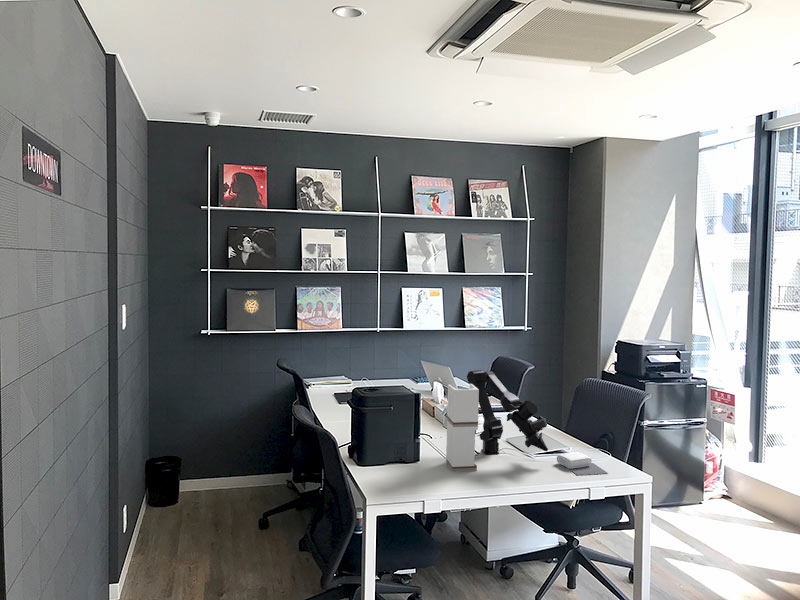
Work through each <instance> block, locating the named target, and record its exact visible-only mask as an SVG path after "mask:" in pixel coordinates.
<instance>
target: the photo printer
mask: <svg viewBox="0 0 800 600" xmlns="http://www.w3.org/2000/svg"><path fill="white" fill-rule="evenodd" d="M556 462H557V463H558V464H559V465H562V466H563V467H565V468H566V469H568V468H571V469H573V468H579V467H585V466H589V465H590V464H591V463H593V462H592V458H591V457H590V456H588V455H587V454H584V453H581V452H578V451H577V452H576V451H570V452H565V453H559V454H558V455H557V456H556Z"/></svg>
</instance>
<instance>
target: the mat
mask: <svg viewBox="0 0 800 600" xmlns="http://www.w3.org/2000/svg"><path fill="white" fill-rule="evenodd" d="M567 469H568V470H569V471H570V472H572V473H573V474H575V475H576V476H593V475H607V474H608V475H609V472H608V471H606V470H604V469H603V468H601V467H599V466H598V465H597V464H595V463H594V462H592V463H591V464H590V465H589V466H585V467H579V468H573V469H571V468H567Z"/></svg>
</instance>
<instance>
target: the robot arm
mask: <svg viewBox="0 0 800 600" xmlns="http://www.w3.org/2000/svg"><path fill="white" fill-rule="evenodd" d="M466 379H467V382H468V385H470V384H473V385H474V386H475V387H476V388H478V389H479V405H478V406H479V407H480V411H481V413H482V417H483V425H482V428H483V431H481V433H479V439H480V440H481V441H482V449H481V452H483V454H485V455H498V454H500V453H499V450H500V449H499V445H500V443H499V440H500V439H501V438H502V435H503V433H504V426H503V424H502V420H501V419H500V418H497V417H496V416H495V414H494V410H493V408H492V405H491V402H490V398H489V395H488V392H487V389H486V384H487V385H488V386H489V387H490V388H491V389H492V391H493V392H494V393H495V394H496V395H497V397H498V398H499V400H500V401H499V402H500V405H501V407H502V408H503V410H504V411H505V412H509V413H507V415H506V422H509V421H512V423H513V424H514V425H515V426H516V428H517V429H519V430H518V431H519V432H520V433H522V434H523V435H524V436H525V441H524V445H525V446H526V447H527V448H530V447H531V446H533V447H534V448H538V449H540V450H543V451H545V452H548V451H549V449H548V447H547V445H546V443H545V440H544V438H543V432H540V431H543V429H544V428H547V426H548V423H547V421H546V418H545V417H543V416H542V415H539V416H537V417H536V420H534V421H533V420H532V419H530V418H532V417H534V415H536V414H538V411H539V410H538V407H537V405H535V404H534V403H533V402H531V400H530V399H527V400H524V401H522V400H521V399H520V398H519V397H518V396H516V395H515V394H514V393H512V392H510V391H509V390H508V389H507V388H506V387H505V386H504V385H503V383H502V382H501V381H500V379H498V377H497V376H496V375H495V372H494V371H493V370H490V371H484V370H481V369H477V370H476V369H475V370H470V371H468V373H467V375H466ZM510 412H511V413H510ZM539 432H540V433H539Z"/></svg>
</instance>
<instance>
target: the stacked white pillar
mask: <svg viewBox="0 0 800 600" xmlns="http://www.w3.org/2000/svg"><path fill="white" fill-rule="evenodd" d="M446 403H447V406H446V409H447V412H446V413H447V414H446V451H445V452H446V454H445V455H446V456H445V457H446V458H445V460H446V461H445V463H446V465H447V466H448V467H449V470H450V471H451V472H453V473H455V472H473V471H474V472H475V471H478V469H477V468H478V466H477V464H476V463H475V454H476V453H475V451H476V450H475V448H476V445H475V444H476V431H477V430H478V429H479V406H480V405H479V389H478V388H476V387H475V386H474V385H473V384H469V388H468V389H467V388H457V387H454V386H453V385H452V384H450V383H449V384H447V402H446Z"/></svg>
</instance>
